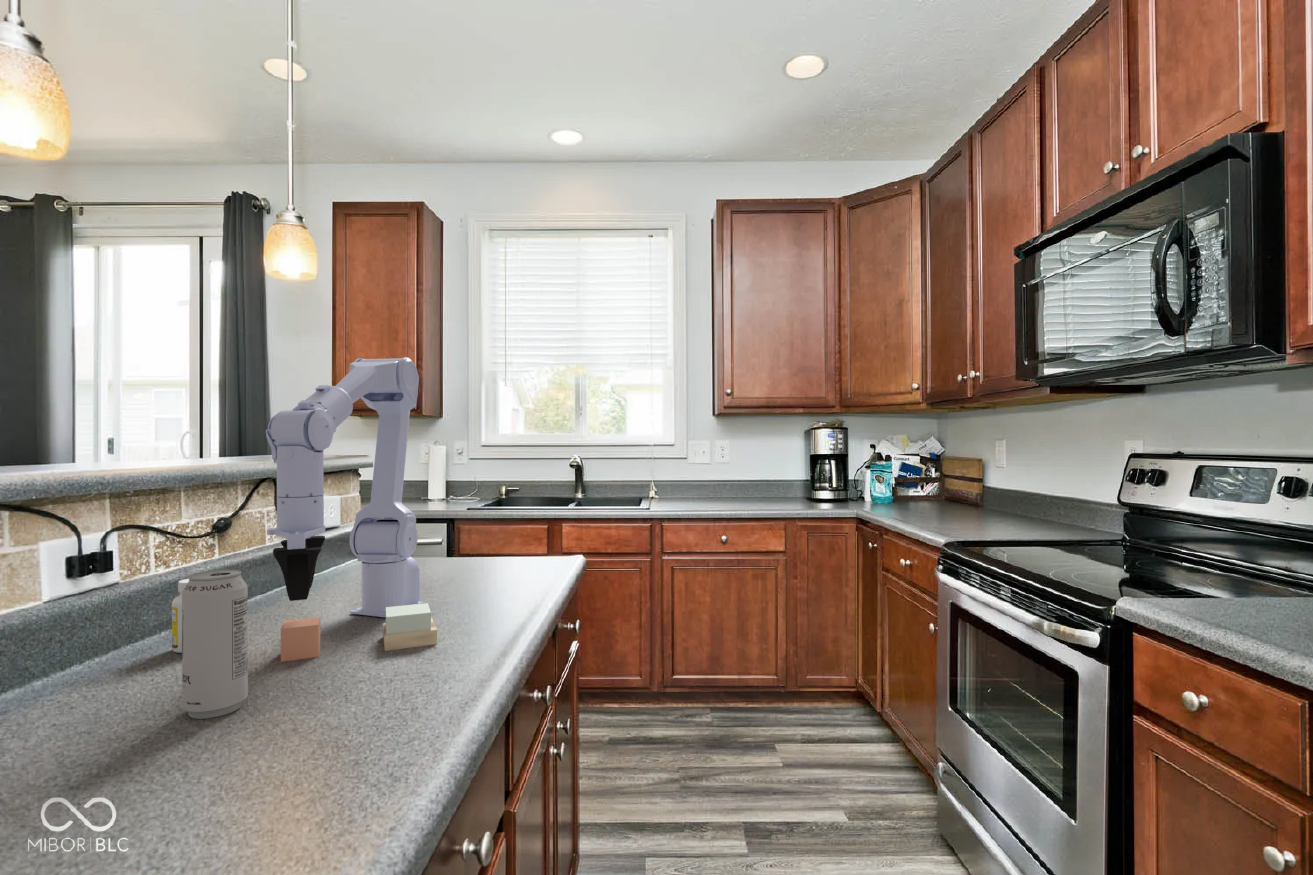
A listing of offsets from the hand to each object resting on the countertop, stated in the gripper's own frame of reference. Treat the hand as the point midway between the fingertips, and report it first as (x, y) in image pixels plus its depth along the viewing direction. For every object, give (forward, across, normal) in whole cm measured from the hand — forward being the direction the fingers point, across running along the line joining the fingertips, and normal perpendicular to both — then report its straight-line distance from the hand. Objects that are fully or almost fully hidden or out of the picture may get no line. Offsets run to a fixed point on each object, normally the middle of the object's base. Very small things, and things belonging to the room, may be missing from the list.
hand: (300, 593), depth 90 cm
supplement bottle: (+9, -10, -14) cm, 19 cm away
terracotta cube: (+8, 0, 0) cm, 8 cm away
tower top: (+6, 0, +14) cm, 15 cm away
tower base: (+9, 0, +14) cm, 17 cm away
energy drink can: (+9, +17, -7) cm, 20 cm away
